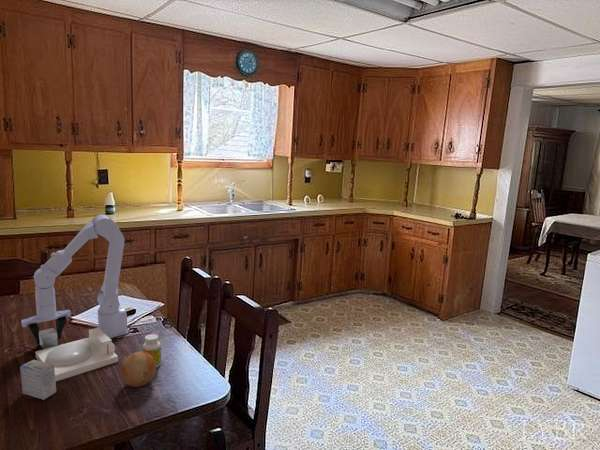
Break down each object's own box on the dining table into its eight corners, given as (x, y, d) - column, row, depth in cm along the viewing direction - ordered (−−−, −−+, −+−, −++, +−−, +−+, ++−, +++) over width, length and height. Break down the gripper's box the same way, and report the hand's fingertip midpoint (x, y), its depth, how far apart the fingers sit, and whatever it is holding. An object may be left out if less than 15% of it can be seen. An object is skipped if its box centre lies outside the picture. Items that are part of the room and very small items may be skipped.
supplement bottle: (155, 370, 137) (154, 341, 136) (139, 367, 138) (139, 339, 137) (163, 361, 143) (163, 334, 141) (149, 359, 144) (148, 332, 142)
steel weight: (53, 341, 153) (53, 327, 152) (57, 345, 150) (56, 332, 149) (39, 344, 150) (38, 331, 149) (43, 349, 147) (42, 335, 146)
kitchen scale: (97, 340, 155) (96, 323, 154) (119, 361, 142) (118, 343, 140) (35, 357, 141) (34, 339, 140) (53, 382, 128) (52, 362, 127)
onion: (136, 397, 123) (135, 365, 121) (114, 385, 128) (112, 354, 126) (163, 382, 131) (162, 351, 129) (141, 371, 136) (140, 342, 134)
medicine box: (57, 392, 123) (55, 364, 122) (43, 401, 119) (41, 372, 118) (36, 386, 126) (33, 358, 124) (21, 394, 122) (19, 366, 120)
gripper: (65, 295, 155) (67, 330, 157) (17, 304, 144) (21, 342, 147) (72, 301, 150) (74, 337, 152) (23, 311, 140) (26, 350, 142)
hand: (48, 340), depth 149 cm, fingers open, 6 cm apart
